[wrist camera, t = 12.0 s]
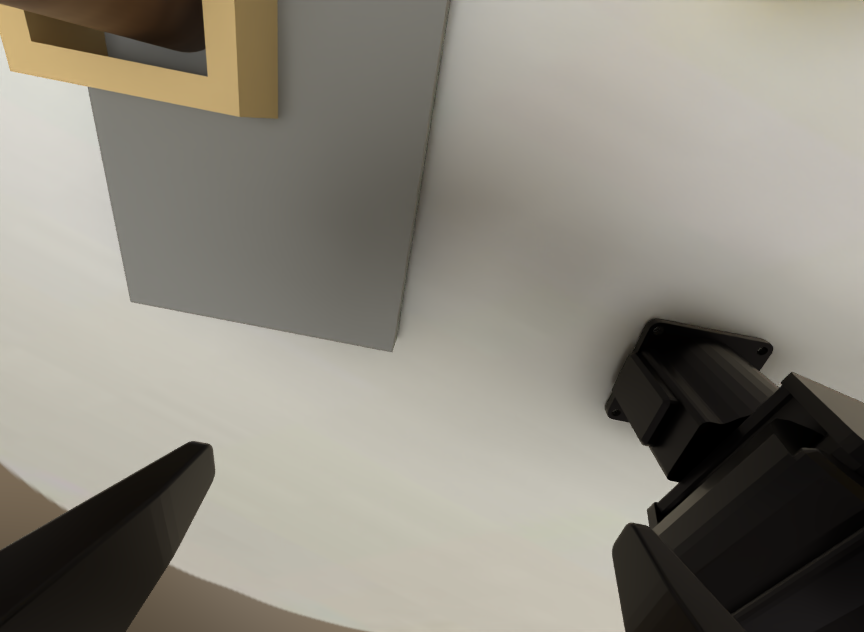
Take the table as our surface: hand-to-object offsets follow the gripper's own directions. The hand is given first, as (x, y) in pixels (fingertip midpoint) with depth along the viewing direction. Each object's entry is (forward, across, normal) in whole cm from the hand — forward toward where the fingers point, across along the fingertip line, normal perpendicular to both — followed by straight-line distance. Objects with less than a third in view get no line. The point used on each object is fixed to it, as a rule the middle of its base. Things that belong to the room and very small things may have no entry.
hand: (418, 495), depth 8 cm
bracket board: (+13, +9, -6) cm, 17 cm away
